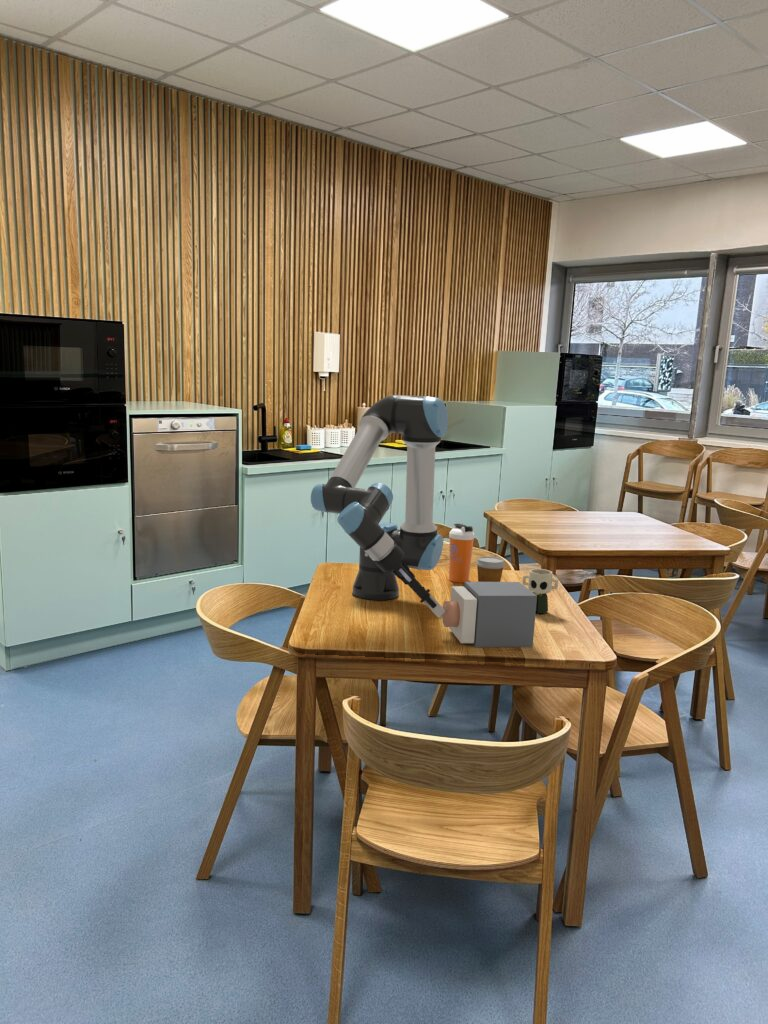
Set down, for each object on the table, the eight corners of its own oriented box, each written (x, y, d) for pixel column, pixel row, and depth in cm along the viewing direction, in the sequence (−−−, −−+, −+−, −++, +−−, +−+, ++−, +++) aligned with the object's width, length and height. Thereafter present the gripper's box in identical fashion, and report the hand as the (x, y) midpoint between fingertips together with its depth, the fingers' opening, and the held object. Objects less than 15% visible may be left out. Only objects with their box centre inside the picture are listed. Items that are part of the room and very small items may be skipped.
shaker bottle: (457, 575, 275) (460, 522, 272) (476, 581, 269) (480, 526, 266) (441, 579, 269) (444, 524, 266) (460, 584, 263) (464, 528, 259)
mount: (475, 647, 200) (479, 595, 198) (461, 630, 214) (464, 581, 211) (532, 646, 203) (537, 595, 200) (514, 629, 216) (518, 581, 214)
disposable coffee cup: (501, 591, 257) (504, 557, 255) (503, 599, 248) (506, 563, 246) (473, 589, 258) (476, 555, 256) (474, 597, 248) (476, 561, 246)
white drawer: (450, 643, 199) (453, 599, 197) (438, 627, 212) (441, 586, 210) (525, 642, 203) (529, 599, 201) (509, 627, 215) (512, 586, 213)
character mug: (518, 612, 234) (521, 571, 232) (522, 606, 241) (525, 566, 238) (553, 617, 230) (557, 576, 228) (556, 611, 237) (560, 571, 235)
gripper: (370, 556, 205) (426, 615, 210) (378, 567, 192) (437, 630, 197) (390, 537, 205) (445, 597, 210) (399, 548, 192) (458, 611, 198)
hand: (441, 613), depth 204 cm, fingers closed
